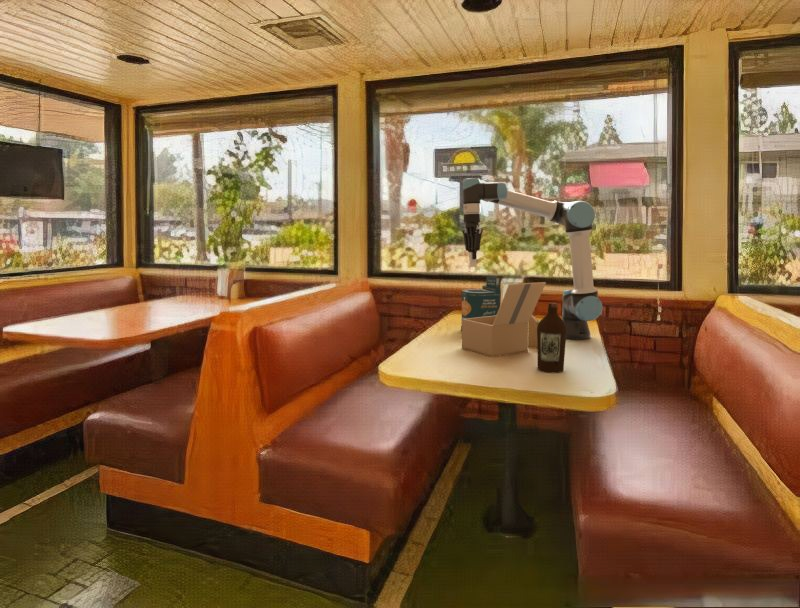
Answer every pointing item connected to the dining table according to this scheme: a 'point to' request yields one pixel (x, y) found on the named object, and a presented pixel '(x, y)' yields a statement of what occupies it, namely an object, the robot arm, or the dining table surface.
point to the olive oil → (551, 341)
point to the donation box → (482, 300)
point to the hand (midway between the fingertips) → (472, 266)
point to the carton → (494, 336)
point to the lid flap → (519, 303)
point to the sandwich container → (532, 332)
